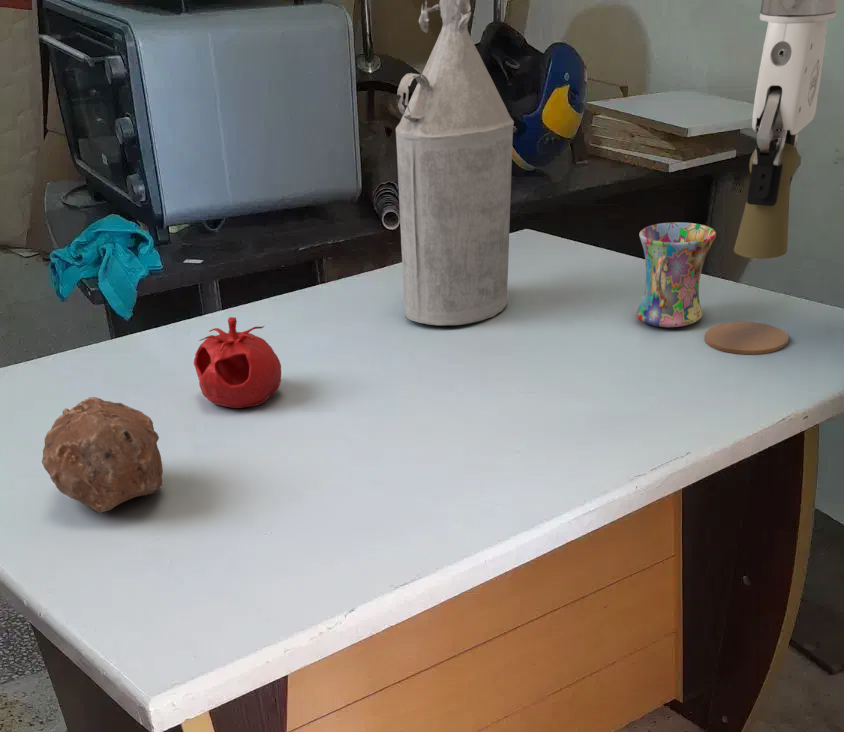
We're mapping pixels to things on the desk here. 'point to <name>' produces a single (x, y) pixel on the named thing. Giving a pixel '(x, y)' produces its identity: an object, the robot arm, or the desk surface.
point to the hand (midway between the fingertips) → (768, 196)
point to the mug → (673, 272)
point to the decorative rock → (103, 454)
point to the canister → (454, 181)
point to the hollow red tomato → (237, 368)
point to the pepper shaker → (768, 216)
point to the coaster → (746, 338)
